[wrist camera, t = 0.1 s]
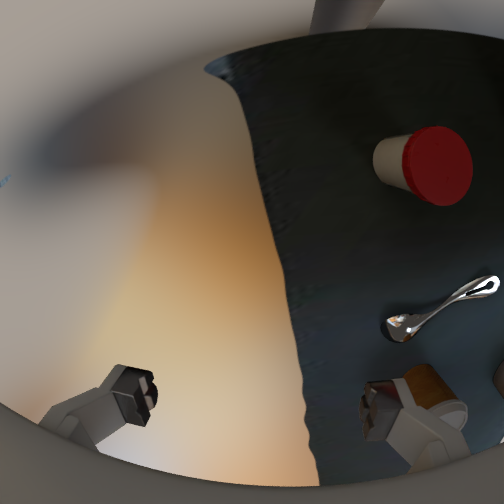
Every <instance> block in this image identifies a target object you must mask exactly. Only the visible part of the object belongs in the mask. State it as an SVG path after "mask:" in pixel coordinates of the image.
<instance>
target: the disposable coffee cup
mask: <svg viewBox="0 0 504 504" xmlns="http://www.w3.org/2000/svg"><path fill="white" fill-rule="evenodd" d="M402 378H404V379H405V380H406V383H407V385H408V387H409V389H410V392H411V394H412V396H413V398H414V401H415V403H416V405H417V406H421V407H423V408H424V409H426V410H427V411H429V412H430V413H432V414H433V415H435V416H436V417H438V418H439V419H441V420H443V421H444V422H446V423H447V424H449V425H450V426H452V427H453V428H455V429H456V430H458V431H460V430H461V429H462V428H463V427H464V425H465V423H466V421H467V418H468V415H467V406H466V404H465V403H464V402H462V401H460V400H458V398H457V397H456V395H454V393H453V392H452V391H451V389H450V388H449V387H448V386H447V384H446V383H445V382H444V381H443V380H442V379H441V377H440V376H439V375H438V373H437V372H436V371H435V370H434V369H433V367H432V366H430V365H428V364H422V365H418V366H416V367H414V368H412V369H410V370H409V371H408V372H407V373H406V374H405V375H404V376H403V377H402Z"/></svg>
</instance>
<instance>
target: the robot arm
mask: <svg viewBox="0 0 504 504" xmlns="http://www.w3.org/2000/svg"><path fill="white" fill-rule="evenodd" d="M153 379H154V376H153V373H152V372H151V371H148V370H143V369H139V368H134V367H129V366H124V365H120V364H118V365H115V367H114V368H113V369H112V370H111V372H110V373H109V375H108V376H107V377H106V379H105V380H104V381H103V383H102V384H101V385H100V387H99V388H93V389H91V390H89V391H86V392H84V393H82V394H80V395H78V396H75V397H73V398H71V399H68V400H66V401H64V402H62V403H59V404H57V405H54V406H52V407H51V409H50V410H49V411H48V412H47V414H46V415H45V416H44V417H43V419H42V420H41V421H40V423H39V424H36V423H34V422H32V421H30V420H28V419H27V418H25V417H23V416H21V415H20V414H18V413H16V412H15V411H13V410H11V409H10V408H8V407H6V406H5V405H3V404H2V403H0V504H504V442H503V443H500V444H498V445H496V446H494V447H491V448H489V449H487V450H484V451H482V452H479V453H476V454H474V455H471V452H470V450H469V448H468V445H467V443H466V441H465V439H464V437H463V434H462V433H461V432H460V431H458V430H456V429H455V428H453V427H452V426H450V425H449V424H447V423H446V422H444V421H443V420H441V419H439V418H438V417H436V416H435V415H433V414H432V413H430V412H429V411H427V410H426V409H424V408H423V407H421V406H417V405H416V403H415V401H414V398H413V396H412V394H411V392H410V389H409V387H408V385H407V383H406V380H405V379H404V378H399V379H391V380H382V381H371V382H367V383H366V384H365V387H364V392H365V394H364V395H363V396H362V397H361V400H360V404H359V416H360V420H361V421H362V422H364V425H363V428H362V430H363V434H364V439H365V441H374V440H383V439H386V441H387V442H388V443H389V444H390V445H391V446H392V447H393V448H394V449H395V450H396V451H397V452H398V453H399V454H400V455H401V456H402V457H403V458H404V459H405V460H406V461H407V462H408V463H409V464H410V465H411V466H412V467H411V469H410V470H409V471H408V473H407V474H406V475H401V476H397V477H391V478H386V479H380V480H374V481H367V482H359V483H351V484H341V485H328V486H307V487H280V486H257V485H243V484H233V483H224V482H217V481H209V480H203V479H197V478H192V477H186V476H181V475H176V474H172V473H167V472H163V471H159V470H155V469H151V468H147V467H144V466H140V465H137V464H133V463H130V462H127V461H123V460H120V459H117V458H114V457H111V456H108V455H106V454H103V453H100V452H99V451H98V449H97V448H96V446H95V445H96V444H97V443H99V442H100V441H102V440H103V439H105V438H106V437H108V436H109V435H111V434H112V433H114V432H115V431H117V430H118V429H119V428H121V427H122V426H124V425H125V424H126V423H130V424H134V425H138V426H143V427H145V426H146V424H147V422H148V420H149V418H150V412H149V410H151V409H153V408H154V407H155V405H156V403H157V397H158V390H157V387H156V386H155V384H154V383H153V382H152V381H153Z"/></svg>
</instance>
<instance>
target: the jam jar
mask: <svg viewBox="0 0 504 504" xmlns="http://www.w3.org/2000/svg"><path fill="white" fill-rule="evenodd" d="M413 134H414V133H410V134H404V135H398V136H392V137H388V138H385V139H383V140H382V141H381V142H380V143H379V144H378V145H377V147H376V149H375V151H374V155H373V166H374V170H375V172H376V174H377V176H378V177H379V179H380V180H381V181H382V182H383V183H385V184H386V185H388V186H391V187H394V188H397V189H400V190H404V191H407V192H410V193H413V192H412V190H411V189H410V188H409V186H407V182H406V180H405V178H404V177H403V175H404V174H403V170H402V166H401V165H402V154H403V150H404V145H405V144H406V142H407V141H408V139H409V137H411V136H412V135H413Z"/></svg>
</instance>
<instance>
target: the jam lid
mask: <svg viewBox="0 0 504 504" xmlns="http://www.w3.org/2000/svg"><path fill="white" fill-rule="evenodd" d="M401 166H402V170H403V174H404V175H403V177H404V178H405V180H406V182H407V186H409V188H410V189H411V190H412V192H413V194H415V195H416V196H418V197H419V198H420V199H421V200H424V201H426V202H428V203H430V204H433V205H435V204H436V205H440V206H447V205H451V204H454V203H456V202H457V201H459V200H460V199H461V198H462V197H463V196H464V195H465V194H466V192H467V190H468V188H469V186H470V183H471V179H472V172H473V166H472V159H471V155H470V152H469V150H468V147H467V146H466V144H465V142H464V141H463V139H462V138H461V137H460V136H459V135H458V134H457V133H455V132H454V131H452V130H450V129H448V128H445V127H440V126H439V127H438V126H433V127H424V128H422V129H421V130H418V131H415V133H414V134H413V135H412V136H411V137H409V139H408V141H407V142H406V144H405V145H404V150H403V154H402V165H401Z"/></svg>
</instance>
